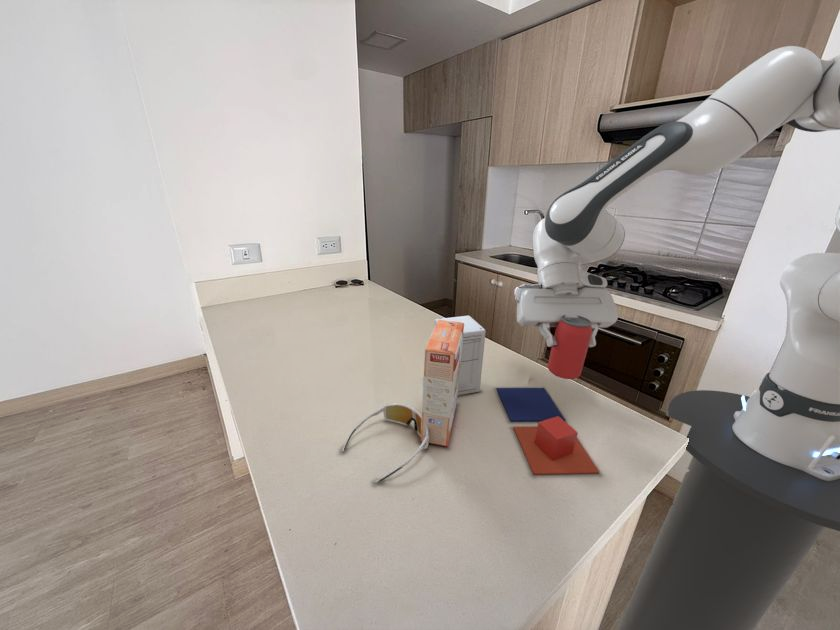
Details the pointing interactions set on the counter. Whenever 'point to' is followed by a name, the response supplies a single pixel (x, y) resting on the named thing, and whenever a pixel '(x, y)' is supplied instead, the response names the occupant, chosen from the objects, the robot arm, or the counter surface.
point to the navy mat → (528, 404)
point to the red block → (555, 437)
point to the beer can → (570, 347)
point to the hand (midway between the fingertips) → (571, 346)
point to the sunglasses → (402, 416)
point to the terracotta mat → (563, 465)
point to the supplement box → (470, 354)
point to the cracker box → (441, 381)
